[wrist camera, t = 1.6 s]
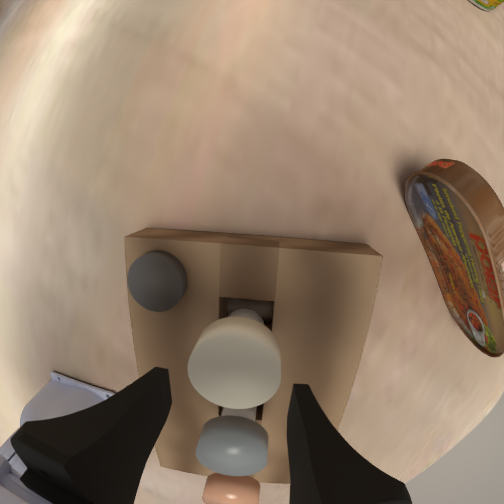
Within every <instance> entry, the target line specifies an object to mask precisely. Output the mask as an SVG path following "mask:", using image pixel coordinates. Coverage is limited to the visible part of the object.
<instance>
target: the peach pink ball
mask: <svg viewBox="0 0 504 504" xmlns="http://www.w3.org/2000/svg"><path fill="white" fill-rule="evenodd" d="M259 495H260V484H259V482H258V481H257V480H256V479H254V478H252V477H250V476H249V475H248V476H229V475H224V474H220V473H213V474H211V475H209V476H208V477H207V480H206V484H205V488H204V492H203V496H202V500H203V502H204V503H206V504H259Z"/></svg>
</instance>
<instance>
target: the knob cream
mask: <svg viewBox="0 0 504 504" xmlns="http://www.w3.org/2000/svg"><path fill="white" fill-rule="evenodd" d="M187 370H188V376H189V379H190V381H191V383H192V385H193V387H194V388H195V389H196V390H197V392H198V393H199V394H200V395H202V396H203V397H204V398H205V399H207V400H209V401H210V402H212V403H214V404H216V405H219V406H222V407H226V408H232V409H247V408H252V407H256V406H259V405H261V404H263V403H265V402H266V401H268V400H269V399H270V398H272V397H273V395H274V394H275V393H276V391H277V390H278V388H279V386H280V382H281V349H280V345H279V342H278V340H277V338H276V337H275V335H274V334H273V333H272V332H271V331H270V330H269V329H268V328H267V327H266V326H264V322H263V319H262V318H261V316H260V315H259V314H258V313H257V312H255V311H253V310H250V309H244V308H243V309H237V310H235V311H233V312H232V313H230V315H229V316H228V317H226V318H222V319H219V320H217V321H215V322H213V323H211V324H210V325H208V326H207V327H206V328H205V329H204V331H203V332H202V334H201V335H200V337H199V339H198V341H197V343H196V345H195V347H194V349H193V351H192V354H191V356H190V358H189V361H188V369H187Z"/></svg>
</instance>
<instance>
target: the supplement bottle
mask: <svg viewBox="0 0 504 504" xmlns="http://www.w3.org/2000/svg"><path fill="white" fill-rule="evenodd" d="M469 1H470V2H472V3H473V4H474V5H476V6H477V7H479V8H481V9H483V10H486V11H490V10H493V9H494V8H496V7H497V6H498V5H500V4H501V3H503V2H504V0H469Z"/></svg>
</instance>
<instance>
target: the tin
mask: <svg viewBox="0 0 504 504" xmlns="http://www.w3.org/2000/svg"><path fill="white" fill-rule="evenodd" d="M405 201H406V205H407V209H408V212H409V215H410V217H411V220H412V222H413V224H414V226H415V229H416V231H417V233H418V235H419V237H420V239H421V242H422V244H423V246H424V249H425V251H426V253H427V255H428V258H429V260H430V263H431V265H432V267H433V270H434V272H435V275H436V278H437V281H438V283H439V286H440V288H441V291H442V294H443V297H444V299H445V302H446V304H447V306H448V308H449V310H450V312H451V314H452V316H453V318H454V319H455V321H456V323H457V324H458V326H459V327H460V329H461V330H462V331H463V333H464V334H465V335H466V336H467V338H468V339H469V340H470V341H471V342H472V343H473V344H474V345H475V346H476V347H477V348H478V349H479V350H480V351H482V352H483V353H485V354H487V355H488V356H490V357H500V356H501V355H502V354H503V353H504V208H503V206H502V203H501V202H500V200H499V198H498V196H497V195H496V193H495V192H494V190H493V189H492V187H491V186H490V185H489V184H488V183H487V181H486V180H485V179H484V178H483V177H482V176H481V175H480V174H479V173H478V172H476V171H475V170H474V169H472V168H471V167H470V166H468V165H466V164H465V163H463V162H460V161H457V160H451V159H439V160H435V161H433V162H432V163H430V164H429V165H427V166H426V167H424V168H423V169H421V170H420V171H419V172H415V173H413V174H411V175H410V176H409V177H408V178H407V180H406V183H405Z"/></svg>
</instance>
